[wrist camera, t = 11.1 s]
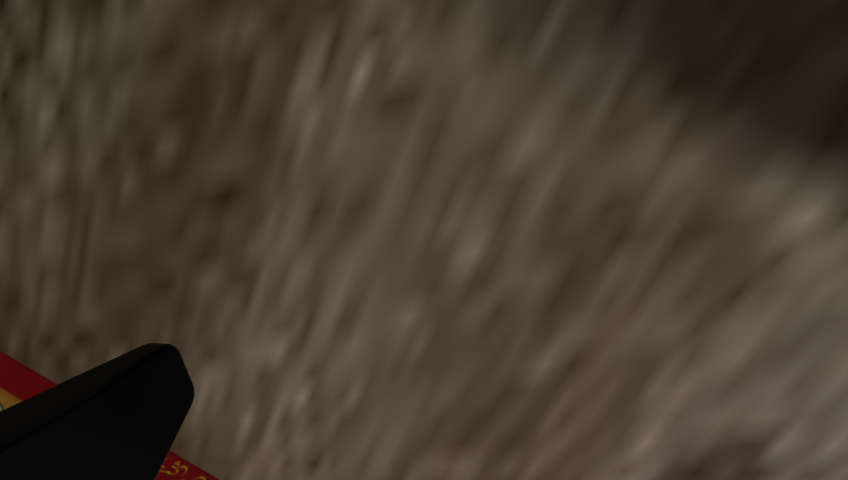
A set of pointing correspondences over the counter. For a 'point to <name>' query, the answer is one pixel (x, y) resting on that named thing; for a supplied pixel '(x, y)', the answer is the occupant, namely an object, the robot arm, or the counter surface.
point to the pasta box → (14, 382)
